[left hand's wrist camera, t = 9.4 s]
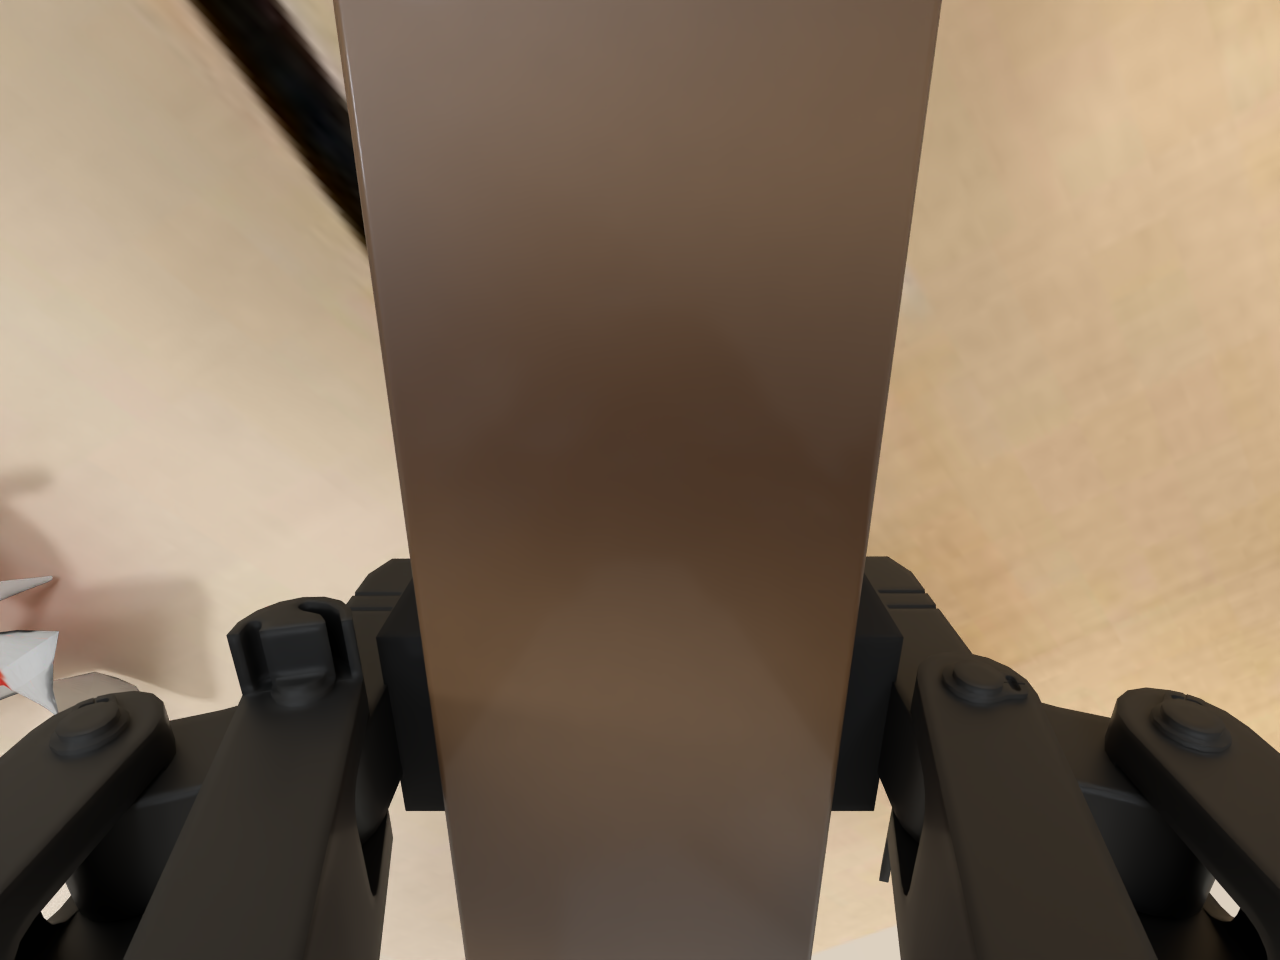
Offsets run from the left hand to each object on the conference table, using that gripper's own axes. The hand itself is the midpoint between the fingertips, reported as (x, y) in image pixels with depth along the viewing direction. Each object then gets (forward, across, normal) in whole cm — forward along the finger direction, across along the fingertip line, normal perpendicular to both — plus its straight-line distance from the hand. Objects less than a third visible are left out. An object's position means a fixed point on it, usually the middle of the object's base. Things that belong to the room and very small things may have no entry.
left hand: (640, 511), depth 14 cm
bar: (+1, 0, -29) cm, 29 cm away
